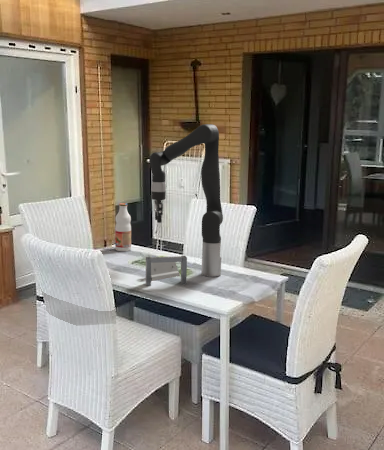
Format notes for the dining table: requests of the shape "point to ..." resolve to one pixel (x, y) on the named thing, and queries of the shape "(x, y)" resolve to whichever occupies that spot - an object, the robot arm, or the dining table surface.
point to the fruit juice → (123, 229)
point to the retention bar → (166, 259)
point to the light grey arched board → (163, 270)
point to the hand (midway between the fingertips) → (158, 221)
